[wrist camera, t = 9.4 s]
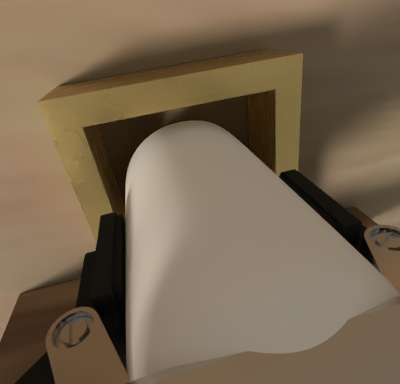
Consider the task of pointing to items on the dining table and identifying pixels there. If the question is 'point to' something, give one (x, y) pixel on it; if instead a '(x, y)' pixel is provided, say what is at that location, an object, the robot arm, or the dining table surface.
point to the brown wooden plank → (50, 321)
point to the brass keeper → (168, 100)
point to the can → (229, 256)
